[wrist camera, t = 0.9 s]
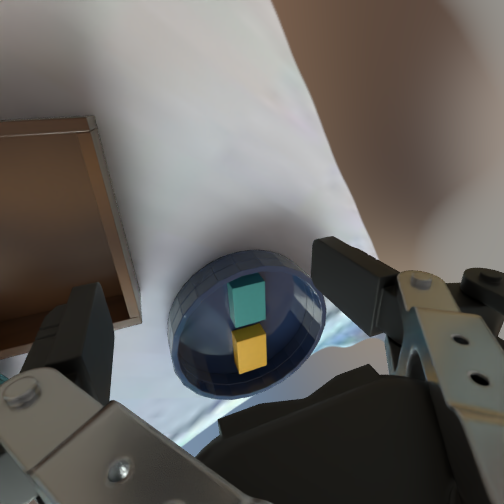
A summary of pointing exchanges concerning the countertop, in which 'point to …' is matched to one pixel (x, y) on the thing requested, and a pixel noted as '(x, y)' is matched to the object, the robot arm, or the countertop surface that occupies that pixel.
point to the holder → (58, 227)
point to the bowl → (221, 326)
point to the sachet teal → (247, 299)
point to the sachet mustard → (249, 348)
